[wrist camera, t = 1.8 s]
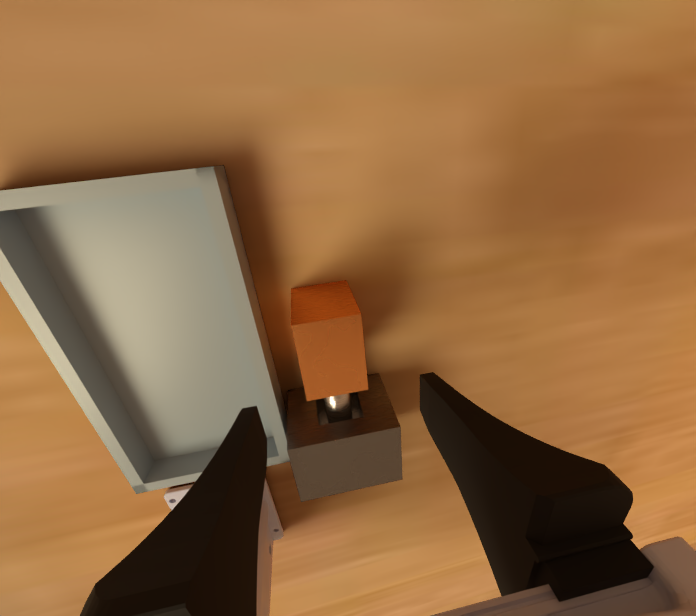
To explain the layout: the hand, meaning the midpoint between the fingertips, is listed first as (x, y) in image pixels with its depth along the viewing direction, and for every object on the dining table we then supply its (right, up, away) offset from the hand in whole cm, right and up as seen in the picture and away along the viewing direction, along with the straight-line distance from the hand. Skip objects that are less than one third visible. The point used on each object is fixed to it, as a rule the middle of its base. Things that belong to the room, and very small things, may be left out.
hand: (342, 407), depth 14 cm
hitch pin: (-1, -1, +10) cm, 10 cm away
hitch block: (-1, -3, +11) cm, 12 cm away
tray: (-11, +2, +7) cm, 13 cm away
